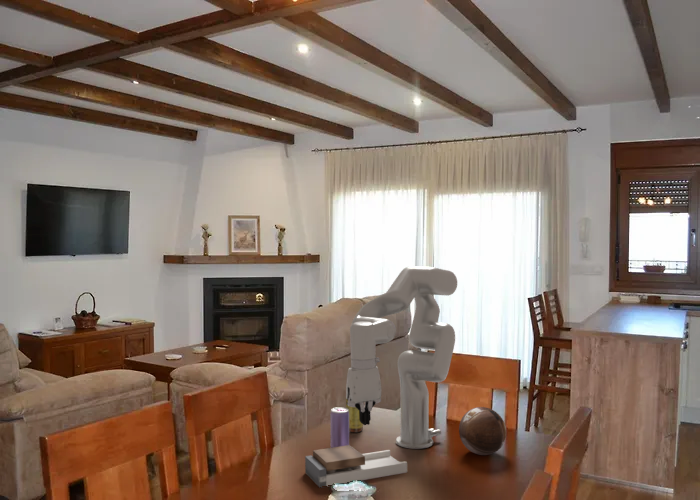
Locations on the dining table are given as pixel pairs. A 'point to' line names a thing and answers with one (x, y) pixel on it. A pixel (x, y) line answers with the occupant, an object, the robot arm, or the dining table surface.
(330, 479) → the track
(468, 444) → the wooden sphere
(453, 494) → the dining table surface
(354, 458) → the slab
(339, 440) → the beverage can
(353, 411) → the sauce bottle
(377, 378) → the robot arm
